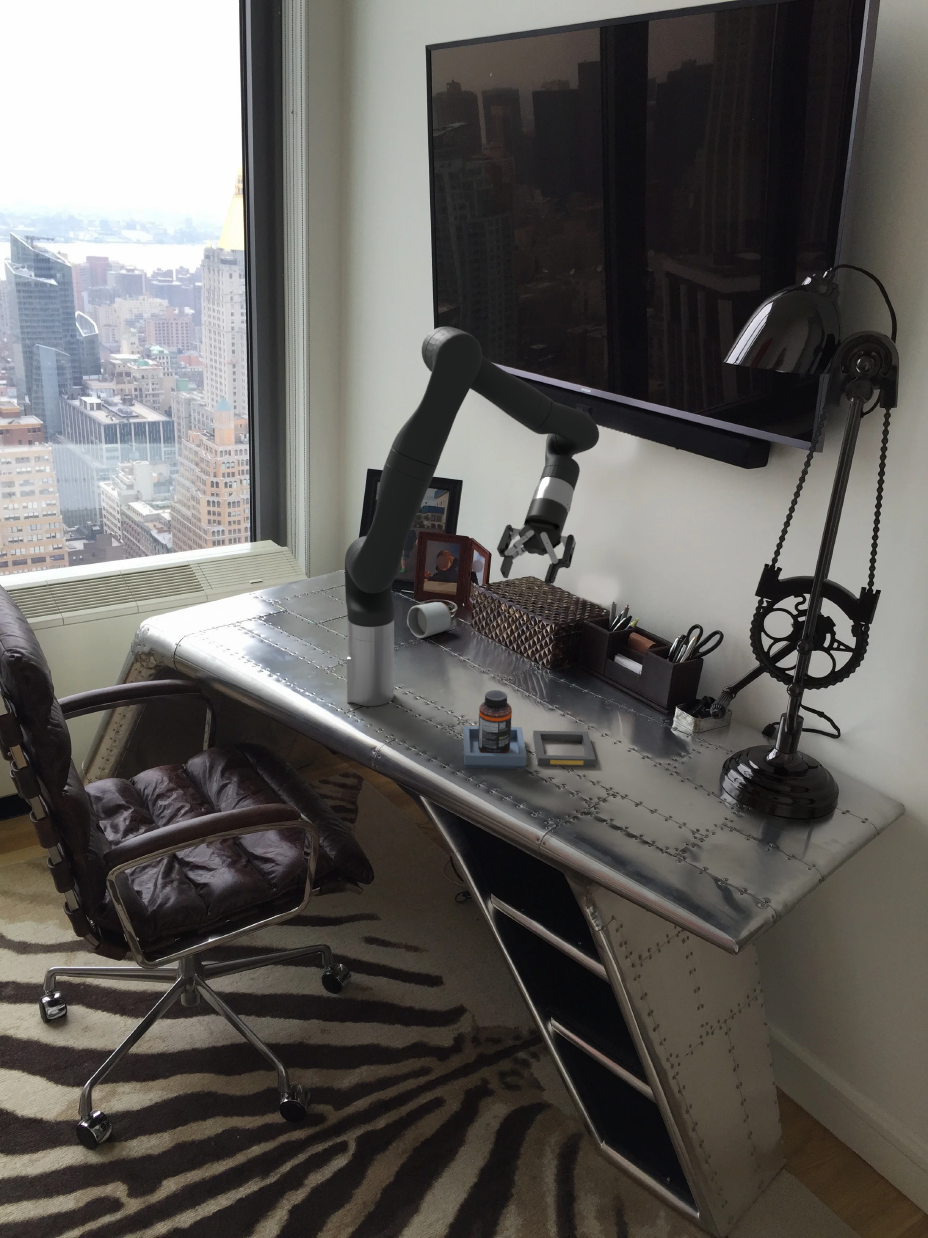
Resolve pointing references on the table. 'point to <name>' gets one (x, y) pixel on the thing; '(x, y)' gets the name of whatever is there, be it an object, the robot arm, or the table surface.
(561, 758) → the frame
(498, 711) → the supplement bottle
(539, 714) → the table surface
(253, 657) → the table surface
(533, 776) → the table surface
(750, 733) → the table surface
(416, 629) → the ceramic mug
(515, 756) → the tray
